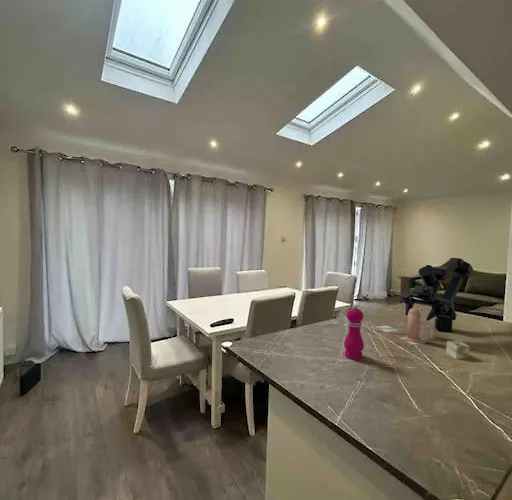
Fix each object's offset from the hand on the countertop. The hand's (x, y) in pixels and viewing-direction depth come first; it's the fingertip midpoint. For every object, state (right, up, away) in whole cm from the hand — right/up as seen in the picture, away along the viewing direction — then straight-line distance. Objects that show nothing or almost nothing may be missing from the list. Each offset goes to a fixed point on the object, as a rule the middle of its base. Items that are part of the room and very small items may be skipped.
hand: (416, 317), depth 128 cm
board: (-4, -10, +7) cm, 13 cm away
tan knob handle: (-2, -10, -1) cm, 10 cm away
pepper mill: (-33, -11, -17) cm, 39 cm away
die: (+7, -11, -15) cm, 21 cm away
